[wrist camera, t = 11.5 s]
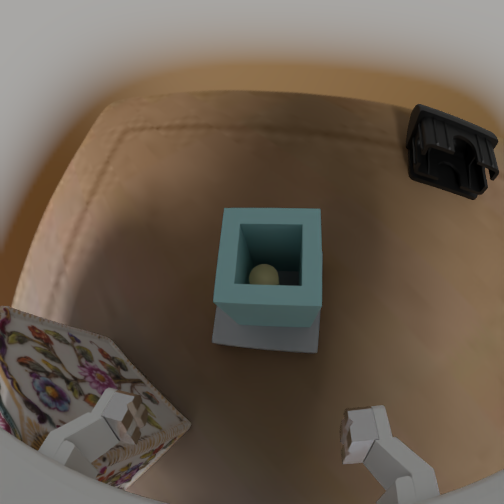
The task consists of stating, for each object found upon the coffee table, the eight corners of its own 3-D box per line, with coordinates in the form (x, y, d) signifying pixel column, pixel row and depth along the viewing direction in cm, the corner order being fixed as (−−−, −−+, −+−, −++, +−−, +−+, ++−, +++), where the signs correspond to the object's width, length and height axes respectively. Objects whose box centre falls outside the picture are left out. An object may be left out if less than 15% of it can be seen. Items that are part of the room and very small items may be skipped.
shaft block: (314, 353, 22) (325, 348, 16) (217, 344, 24) (191, 335, 17) (320, 260, 25) (330, 223, 19) (230, 254, 26) (211, 217, 20)
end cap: (471, 157, 28) (492, 122, 21) (478, 202, 25) (507, 169, 19) (403, 134, 30) (418, 92, 24) (404, 178, 28) (424, 136, 21)
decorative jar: (197, 424, 21) (39, 494, 5) (127, 492, 19) (-10, 553, 2) (109, 332, 25) (-53, 269, 8) (54, 405, 22) (-89, 392, 6)
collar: (310, 327, 21) (321, 306, 14) (238, 324, 22) (213, 301, 15) (311, 259, 23) (320, 208, 16) (244, 258, 24) (224, 207, 17)
